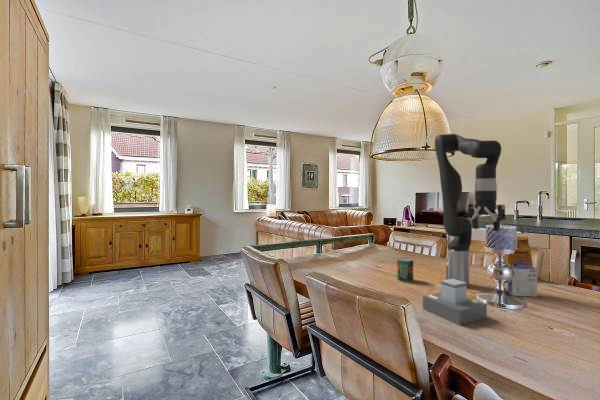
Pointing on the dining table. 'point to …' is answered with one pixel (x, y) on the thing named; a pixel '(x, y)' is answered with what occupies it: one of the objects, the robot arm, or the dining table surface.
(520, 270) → the ink cartridge box
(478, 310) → the box
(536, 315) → the dining table surface
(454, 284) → the cap
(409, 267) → the canned tomato
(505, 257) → the coffee package
